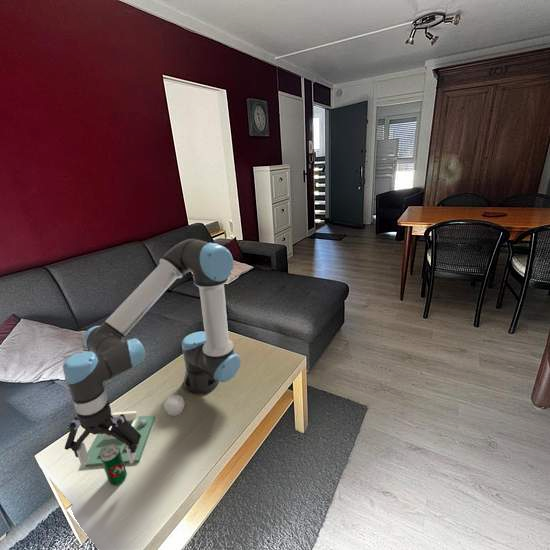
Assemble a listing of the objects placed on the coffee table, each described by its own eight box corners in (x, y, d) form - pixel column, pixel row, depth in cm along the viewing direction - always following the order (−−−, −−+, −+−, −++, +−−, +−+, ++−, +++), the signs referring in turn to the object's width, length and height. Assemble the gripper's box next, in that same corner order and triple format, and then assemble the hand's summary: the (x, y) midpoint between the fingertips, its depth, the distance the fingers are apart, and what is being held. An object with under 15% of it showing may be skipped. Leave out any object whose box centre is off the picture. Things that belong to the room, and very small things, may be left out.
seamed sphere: (188, 405, 120) (185, 390, 117) (181, 420, 113) (179, 405, 110) (163, 404, 121) (160, 389, 118) (156, 419, 114) (152, 404, 111)
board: (155, 417, 115) (153, 408, 113) (139, 462, 98) (136, 452, 96) (106, 421, 114) (103, 411, 112) (81, 467, 97) (77, 457, 95)
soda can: (113, 471, 95) (104, 443, 91) (129, 469, 96) (121, 442, 91) (106, 487, 91) (96, 459, 86) (123, 485, 91) (114, 457, 87)
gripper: (144, 392, 86) (156, 446, 94) (53, 398, 85) (72, 452, 92) (135, 413, 79) (148, 469, 87) (35, 420, 78) (58, 477, 85)
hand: (109, 461), depth 90 cm, fingers open, 13 cm apart
